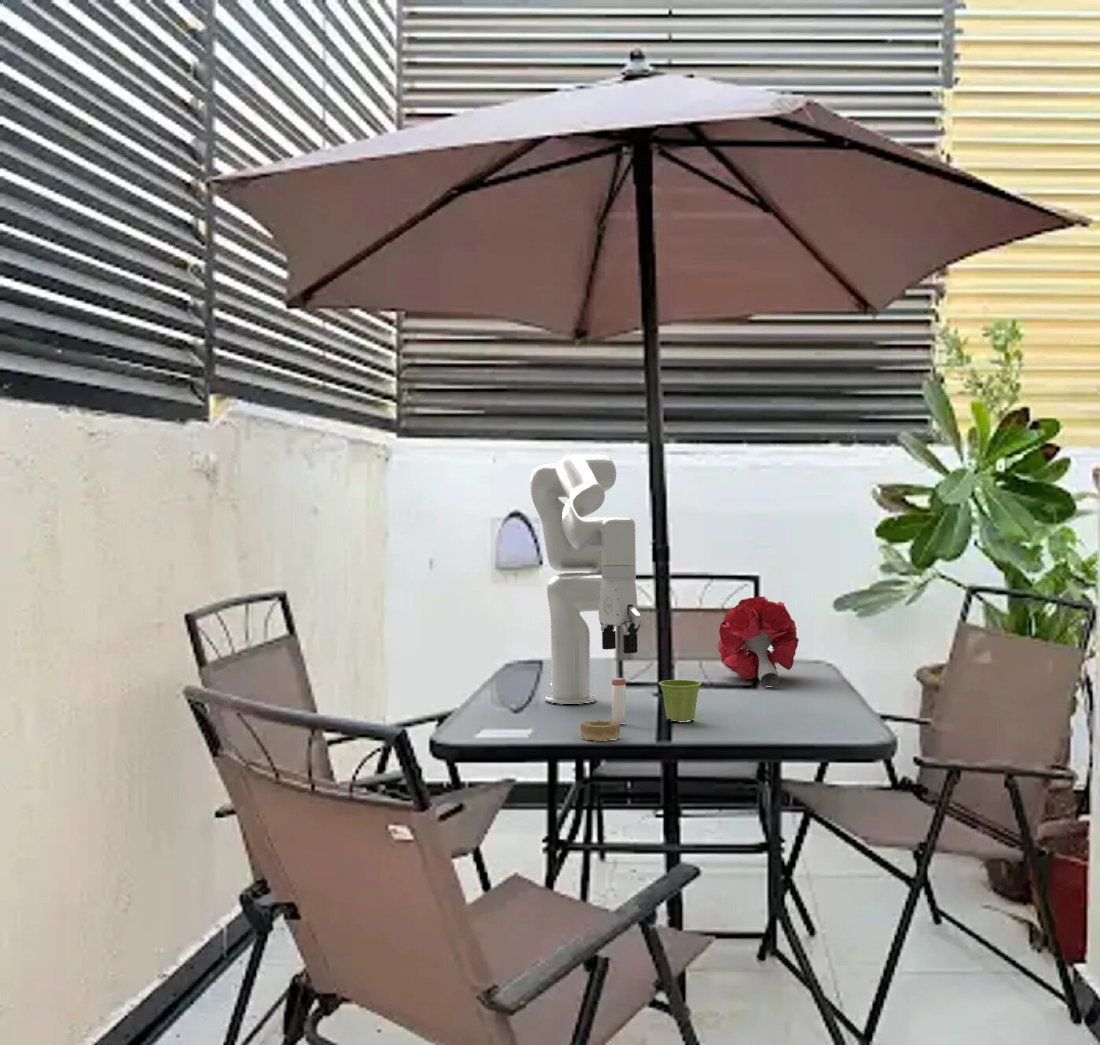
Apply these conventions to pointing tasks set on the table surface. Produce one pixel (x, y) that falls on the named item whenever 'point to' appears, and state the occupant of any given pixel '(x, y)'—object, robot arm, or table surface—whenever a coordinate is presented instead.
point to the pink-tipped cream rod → (619, 700)
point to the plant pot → (680, 698)
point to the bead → (600, 730)
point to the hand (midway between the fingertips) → (619, 651)
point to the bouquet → (758, 639)
